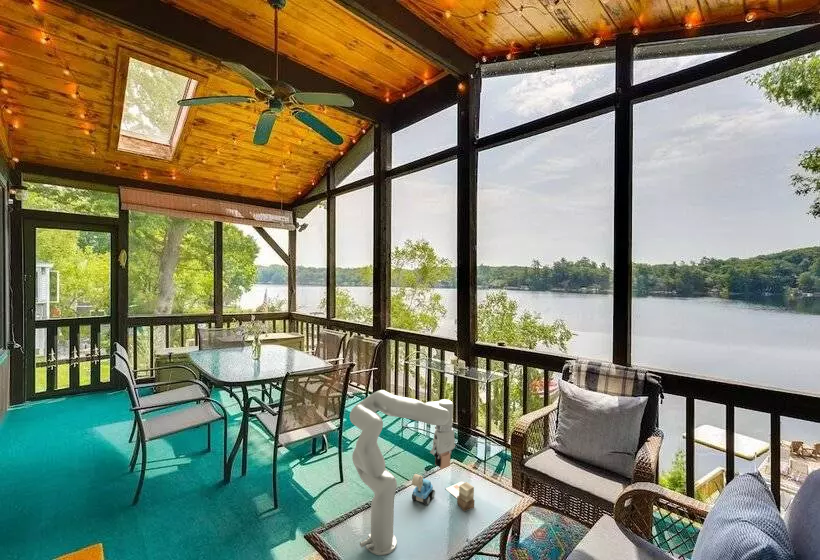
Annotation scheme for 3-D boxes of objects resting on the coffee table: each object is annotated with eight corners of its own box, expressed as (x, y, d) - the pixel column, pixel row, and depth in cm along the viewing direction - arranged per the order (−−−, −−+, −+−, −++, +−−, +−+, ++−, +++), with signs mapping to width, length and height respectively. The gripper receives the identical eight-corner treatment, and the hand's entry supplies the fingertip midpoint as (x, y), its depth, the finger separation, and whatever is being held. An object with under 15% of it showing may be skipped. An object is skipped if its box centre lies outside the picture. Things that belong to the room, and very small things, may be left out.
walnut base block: (463, 511, 181) (464, 503, 181) (457, 503, 187) (457, 496, 186) (474, 508, 184) (474, 500, 183) (467, 500, 189) (467, 493, 189)
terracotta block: (441, 469, 176) (442, 456, 176) (435, 464, 180) (435, 451, 180) (449, 466, 179) (450, 453, 179) (443, 461, 183) (443, 449, 183)
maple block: (466, 502, 182) (466, 490, 181) (459, 497, 186) (459, 485, 185) (473, 498, 185) (474, 487, 184) (466, 493, 189) (466, 482, 188)
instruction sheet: (456, 498, 191) (456, 497, 191) (445, 488, 198) (445, 488, 198) (473, 490, 197) (474, 489, 197) (462, 481, 205) (462, 481, 205)
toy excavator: (405, 509, 182) (406, 474, 180) (420, 490, 196) (421, 458, 195) (421, 515, 178) (422, 480, 176) (435, 495, 192) (436, 463, 191)
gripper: (435, 434, 171) (433, 472, 172) (462, 425, 181) (461, 462, 182) (425, 427, 177) (423, 465, 178) (452, 419, 187) (450, 455, 188)
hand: (442, 463), depth 180 cm, fingers closed on terracotta block, 5 cm apart
